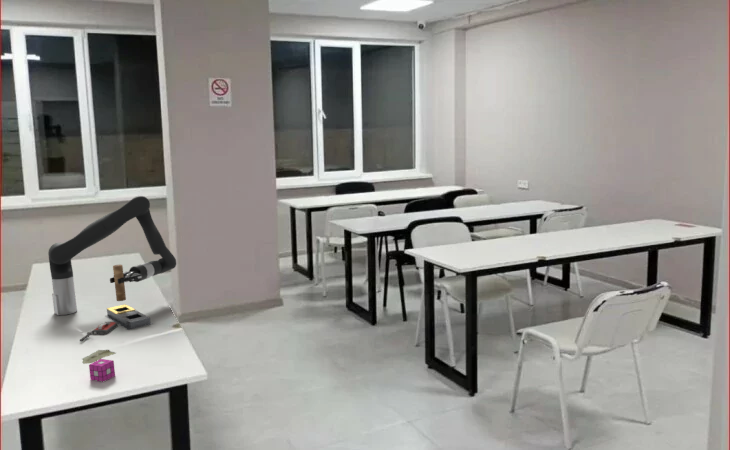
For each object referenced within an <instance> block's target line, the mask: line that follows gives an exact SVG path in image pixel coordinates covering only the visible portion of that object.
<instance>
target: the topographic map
mask: <svg viewBox="0 0 730 450" xmlns="http://www.w3.org/2000/svg"><path fill="white" fill-rule="evenodd" d="M115 354H117V352H115V351H111V350H110V349H98V350H96V351H94V352H92V353H91V354H89V355H87V356H84V357H83V358H81V360H82V364H83V365H85V364H92V363H94V362H96V361H98V360H100V359H104V358H105V357H110V356H111V355H115Z"/></svg>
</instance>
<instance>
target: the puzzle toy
mask: <svg viewBox="0 0 730 450" xmlns="http://www.w3.org/2000/svg"><path fill="white" fill-rule="evenodd" d="M88 369H89V379H90V381H93V380H97V381H96V382H99V381H102V382H101V383H104V382H103V381H105V380H106V381H108V380H111V379H112V378H114V377H116V370H115V362H114V360H112V359H104V358H101V359H100V360H97V361H95V362H93V363H89V365H88ZM106 381H105V382H106Z"/></svg>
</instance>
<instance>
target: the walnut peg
mask: <svg viewBox="0 0 730 450" xmlns="http://www.w3.org/2000/svg"><path fill="white" fill-rule="evenodd" d="M112 268H113V269H112V271H113V277H114V281H115V282H114V287H115V289H114V290H115V296H116V297H115V298H116V302H123V301H126V299H127V296H126V295H127V294H126V288H125V287H126V286H125V285H126V284H125V282H124V283H121V284H118V279H119V278H122V277H124V275H123V273H124V267H123V264H114V265H112Z"/></svg>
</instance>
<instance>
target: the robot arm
mask: <svg viewBox="0 0 730 450" xmlns="http://www.w3.org/2000/svg"><path fill="white" fill-rule="evenodd" d="M150 207H151V203H150V200H149V198H147V197H146V196H143V195H137V196H134V197H133V198H132V199H130V200H129V201H127V203H124V204H123V206H121V207H120V208H117V209H115V210H113V211H112V212H109V213H106V215H103V216H102V217H99V218H98V219H96V220H95V221H93V222H91V223H90V224H88V225H87V226H86V227H84V228H83V229H82V230H81V231H80V232H79V233H78V234H76V236H73V238H70V239H68V240H67V241H65V242H57V243H56V242H55V243H54V244H52V245H51V246H50V247H49V248H48V253H47V254H48V261H49V263H48V264H49V269H50V270H49V271H50V277H51V285H52V291H53V293H52V295H51V296H52V306H53V312H54V314H55V315H56V316H64V315H71V314H74V313H76V312H77V311H78V307H77V299H76V296H77V295H76V288H75V280H74V279H75V278H74V271H73V270H74V269H73V265H72V260H73V258H74V257H76V256H78V255H79V254H80V253H82V251H84V250H86V249H88V248H90V247H92V246H94V245H96V244H97V243H99V242H101V241H102V240H104V239H106V238H108V237H109V236H110V235H112V234H113V233H115V232H116V231H118V230H119V229H120V228H121V227H122V226H124V225H125V224H126V223H128V222H129V221H130V220H132V219H134V218H136V220H137V222H138V223H139V224H140V227H141V228H142V231H143V233H144V236H145V238H146V241H147V243H148V246H149V248H150V250H151V252H152V254H153V255H160V256H161V258H158V259H156V260H152V261H148V262H143V263H140V264H137V265H134V266H132V267H130V268H129V270H128V271H125V272H123V275H124V277H122V278H119V279H118V284H121V283H124V284H125V283H131V282H132V283H133V282H135V283H138V282H141V281H144V280H147V279H150V278H151V277H154V276H157V275H159V274H163V273H166V272H169V271H171V270H173V269H175V268H176V266H177V259H176V257H175V256H174V254H173V253H172V252H171V251H170V249H169V248H168V247H167V246H166V243H165V241H164V239H163V236H162V235H161V232H159V229H158V227H157V226H156V224H155V222H154V220H153V218H152V215H151V211H150ZM109 283H110V284H111V283H114V284H115V281H114V276H113V277H110V278H109Z"/></svg>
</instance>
